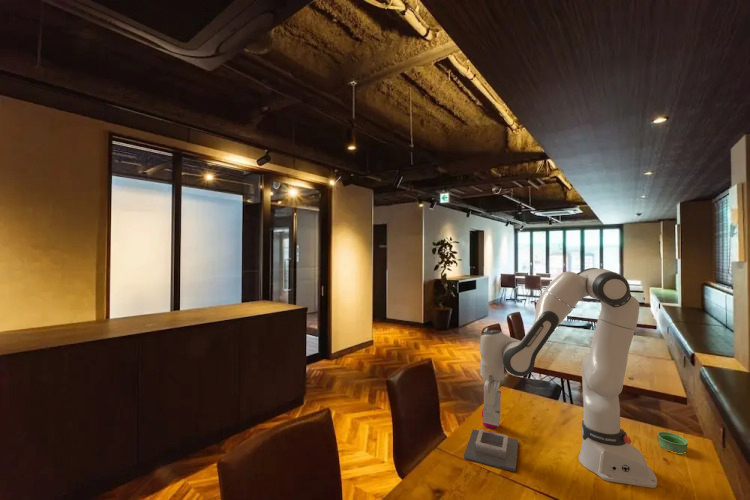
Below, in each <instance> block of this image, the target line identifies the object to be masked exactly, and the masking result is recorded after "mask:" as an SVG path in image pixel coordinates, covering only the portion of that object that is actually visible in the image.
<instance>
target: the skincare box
mask: <svg viewBox="0 0 750 500" xmlns="http://www.w3.org/2000/svg"><path fill="white" fill-rule="evenodd" d="M488 393H489V392H488ZM501 396H502V392H501V391H500V390H498V391H497V396H496V400H495V404H494V411H490V410H489V405H486V404H485V403H484V402H483V408H484V420H483V419H482V423H483V422H484V423H488V424H492V425H496V426H497V427H499V426H500V423H501V407H502V406H501V403H502V402H501V401H502V399H501V398H502V397H501Z"/></svg>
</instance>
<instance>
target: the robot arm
mask: <svg viewBox="0 0 750 500" xmlns="http://www.w3.org/2000/svg"><path fill="white" fill-rule="evenodd" d="M587 297H591V298H593V299H595V300H598V301H600V304H601V305H600V306H601V307H600V308H601V310H600V311H599V312H600V313H599V315H598V318H597V321H596V324H595V325H596V326H595V328H594V331H593V335H592V340H591V345H590V346H591V347H590V351H589V353H587V354H586V355H585V356H584V358H583V359H582V361H581V362H582V363H581V377H582V378H581V380H582V399H583V402H582V403H583V411H582V412H583V413H582V414H583V420H582V422H581V436H582V442H581V448H580V452H579V454H578V461H579V462H580V464H581V465H582V467H585V468H586V469H587V470H589V471H591V472H592V473H594V474H596V475H598V477H599V478H601V479H602V480H604V481H606V482H612V483H619V484H625V485H632V486H637V487H645V488H650V489H656V487H657V486H658V478H657V476H656V474H655V472H654V471H653V469H652V468H651V467H650V466H649V465H648V463H647V461H646V459H645V456H644V455H643V454H642V452H641V451H640V450H639V449H637V448H636V447H635V446H633V445H632V440H631V437H630V436H628V434H627V432H626V431H625V430H624V428H621V407H620V398H619V397H620V396H619V395H620V394H621V393H622V391H623V387H624V381H625V377H626V371H627V367H628V366H627V365H628V359H629V352H630V348H631V344H632V341H633V338H634V336H635V332H636V330H637V329H636V328H637V325H638V321H639V314H640V302H639V301H638V299H637V298H636V297H635V296H633V295H632V294H631V287H630V283H629V282H628V280H627V279H626V278H625V277H624V276H623V275H621V274H620V273H618V272H614V271H612V270H609V269H605V268H604V269H603V268H597V267H590V268H587V269H584V270H581V271H580V272H577V273H576V272H572V271H563V272H561V273H560V274H559V275H558V276H556V277H555V278H554V279H553V280H552V281H551V282H550V283H549V284H548V286H547V287H545V289H544V291H542V293H541V295H540V297H539V298H538V300H537V301H536V304H535V317H534V321H533V324H532V326H531V327H530V329H529V330H528V331H527V333H526V334H525V336H523V338H522V339H521V340H520V339H516V338H514V337H510V336H509V335H507V334H506V333H504V332H502V331H501V330H500V329H488V330H486V331H484V332H483V333H482V334H481V336H480V340H479V341H480V342H479V354H480V357H481V358H480V363H479V369H480V370H479V371H480V376H481V378H483V381H484V384H483V386H484V392H483V404H484V403H485V404H486V405H489V410H490V411H494V404H495V400H496V396H497V391H499V389H500V385H501V380H503V379H504V378H505V370H506V371H507V372H508V373H510V374H511V375H513V376H516V377H526V376H528V375H529V374H531V373H532V371H533V370H534V367H535V363H536V358H537V356H538V354H539V353H540V352H541V350H542V349H543V347H544V345H545V344H546V343H547V341H548V340H549V339H550V337H551V336H552V334H553V332H554V331H555V330H556V329H557V328H558V327H559V326H560V325H561V323H562V322H563V321H564V320H565V319H566V317H567V316H568V315H569V314H570V313H571V312H572V311H573V309H574V308H575V307H576V306H577V304H578V303H579V302H580V301H581V300H582V299H584V298H587ZM488 392H489V393H488Z"/></svg>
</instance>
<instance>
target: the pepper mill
mask: <svg viewBox="0 0 750 500" xmlns="http://www.w3.org/2000/svg"><path fill="white" fill-rule="evenodd" d="M482 391H483V393H484V385H483V387H482ZM481 418H482V425H483V426H484V427H485V428H487V429H491V430H495V429H497V428H498V426H496V425H492V424H488V423H484V422H483V420H484V407H483V408H482V410H481Z"/></svg>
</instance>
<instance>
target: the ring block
mask: <svg viewBox="0 0 750 500" xmlns="http://www.w3.org/2000/svg"><path fill="white" fill-rule="evenodd" d="M518 448H519V439H517V438H513V437H509V435H506V434H502V433H497V432H493V431H490V430H489V431H488V430H484V429H481V428H480V429H474V428H473V429H472V431H471V433H470V437H469V439H468V442H467V445H466V448H465V451H464V454H463V459H465V460H468V461H473V462H476V463H480V464H482V465H486V466H492V467H495V468H499V469H502V470H504V471H505V470H506V471H509V472H513V473H516V472H517V463H518V462H517V461H518Z"/></svg>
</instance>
